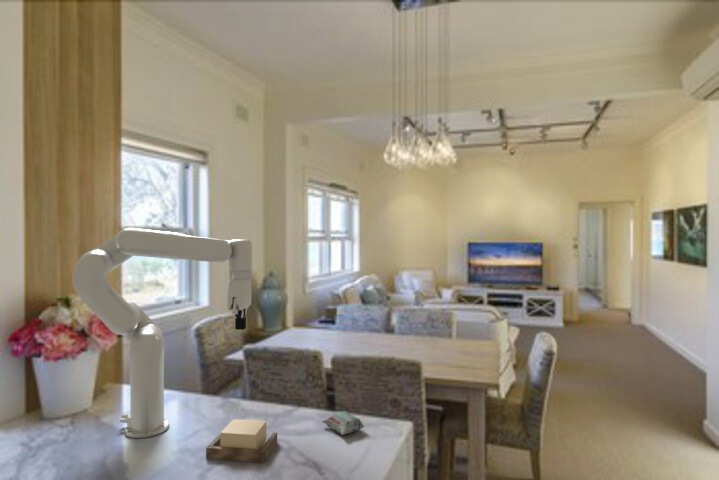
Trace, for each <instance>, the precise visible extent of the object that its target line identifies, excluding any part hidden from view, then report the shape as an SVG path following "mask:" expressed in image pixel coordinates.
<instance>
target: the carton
mask: <svg viewBox="0 0 719 480" xmlns="http://www.w3.org/2000/svg"><path fill="white" fill-rule="evenodd" d="M220 433H221V447H232V448H246V449H259V450H261V449H262V447H263V446H264V445H265V443H266V442H267V420H259V419H258V420H256V419H240V418H233V419H232V420H231V421H230V422H229V423H228V424H227V425H226V426H225V428H223V429H222V431H220Z"/></svg>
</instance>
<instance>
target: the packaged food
mask: <svg viewBox="0 0 719 480" xmlns="http://www.w3.org/2000/svg"><path fill="white" fill-rule="evenodd" d="M320 422H321V423H322V424H325V425H326V426H327V427H328V428H330V429H333V430H334V431H336V432H337V433H338V434H341V436H343V435H344V436H345V435H347V434H351V433H354V432H357V431H360V430H361V429H362V428H364V427H365V425H364V424H363V422H362V420H361V419H360V418H359V417H356V416H354V415H352V414H351V413H349V412H348V411H346V410H345V411H344V410H343V411H338V412H335V413H333V414H331V415H330V416H328V417H327V418H324V419H323V420H321V421H320Z"/></svg>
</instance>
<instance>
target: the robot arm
mask: <svg viewBox="0 0 719 480" xmlns="http://www.w3.org/2000/svg"><path fill="white" fill-rule="evenodd" d="M132 257H143V258H145V257H148V258H156V259H157V258H158V259H166V260H167V259H168V260H176V261H177V260H187V261H197V262H208V263H209V262H211V263H224V262H226V261H228V265H229V267H228V268H229V271H228V273H229V274H228V276H229V277H228V280H229V282H228V283H229V284H228V289H227V291H228V292H227V309H228V310H230V311H231V310H232V312H231V313H232V314H233V315H234V320H235V321H234V322H235V324H234V325H235V327H234V328H235V330H241V331H242V330H246V329H247V312H248V310H249V307H250V306H251V305H252V298H253V297H252V283H251V281H252V280H253V242H252V240H250V239H244V238H243V239H242V238H241V239H238V238H237V239H231V240H229V239H224V238H223V239H222V238H212V237H202V236H193V235H186V234H183V233H179V232H174V231H173V232H171V231H164V230H163V231H162V230H155V229H153V230H152V229H146V228H145V229H144V228H135V227H127V228H126V227H125V228H124V229H121V230H120V231H119V232H117V234H116V235H115V236H113V237H111V238H110V239H108V240H106V241H105V242H103V243H102V244H100V245H98V246H97V247H95V248H94V249H92V250H89V251H87V252H85V253H84V254H82V255H81V256H80V258H79V259H78V260H77V262H76V264H75V266H74V269H73V271H72V281H71V282H72V286H73V289H74V291H75V293H76V294H77V296H78V297H79V299H80V300H81V301H82V302H83V303H84V304H85V305H86V306H87V307H88V308H89V310H90V311H91V312H93V314H94V315H95V316H96V317H97V318H98V319H99V320H100V321H101V322H102V323H103V324H104V326H106V328H107V329H108V330H109V331H110V332H112V333H113V334H116V335H121V336H123V338H124V339H125V340H126V341H127V342H128V343H129V388H130V389H129V392H130V394H129V395H130V397H129V398H130V399H129V401H130V402H129V405H130V406H129V407H130V411H129V412H130V413H122V415H121V418H120V420H119V423H121V424H126V427H125V428H124V434H125V436H127V437H128V438H132V439H133V438H135V439H143V438H144V439H145V438H149V437H153V436H157V435H159V434H161V433H164V432H165V431H167V429H168V428H170V421H169V420H168V419H166V418H165V407H164V406H165V405H164V404H165V390H164V389H165V388H164V387H165V386H164V384H165V379H164V378H165V370H164V369H165V367H164V366H165V359H164V358H165V340H164V336H163V335H164V334H163V332H162V330H161V329H160V327H159V326H158V325H157V324H156V323H155V322H154V320H152V319H151V317H150V316H148V315H147V314H146V312H144V310H143V309H142V308H141V307H140V306H139V305H138V304H136V303H135V302H134V301H131V300H128V299H125V298H124V297H123V296H122V295H121V293H119V292H118V291H117V290H116V289H115V287H114V286H113V285H111V284H110V283H109V281H108V279H107V275H108V274H109V273H111V271H113V270H115V269H116V268H117V267H119V266H120V265H122V264H124V263H125V262H126V261H128V260H129V259H131V258H132Z"/></svg>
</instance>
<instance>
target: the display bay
mask: <svg viewBox="0 0 719 480" xmlns="http://www.w3.org/2000/svg"><path fill="white" fill-rule="evenodd" d="M277 444H278V432H273V433H272V434H271V435H270V436H269V438H268V439H266V443H265V445H264V446H263V447H262V449H261V450H259V449H246V448H232V447H221V432H219V434H218V436H216V437H215V438H214V439H213V440H212V441H211V442H210V443H209V444H208V445H207V446H206V447H205V459H209V460H221V461H222V460H223V461H231V462H242V463H243V462H245V463H256V464H264V463H265V461H266V460H267V458H268V457H269V455H271V453H272V452H273V449H274V448H275V447H276V445H277Z"/></svg>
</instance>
